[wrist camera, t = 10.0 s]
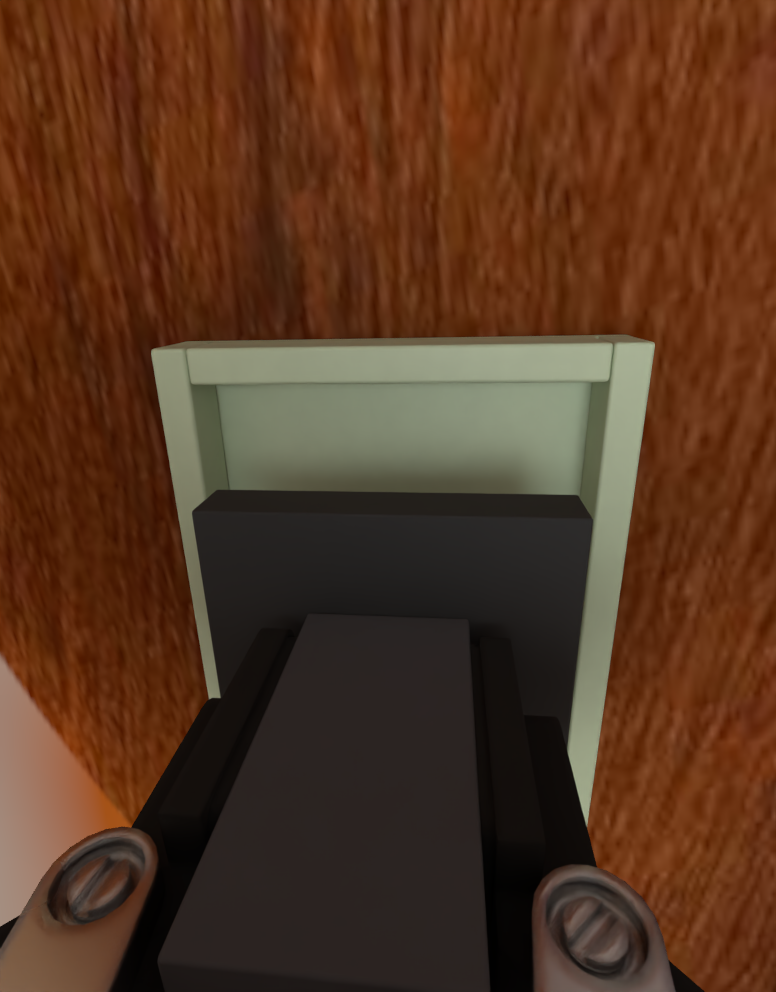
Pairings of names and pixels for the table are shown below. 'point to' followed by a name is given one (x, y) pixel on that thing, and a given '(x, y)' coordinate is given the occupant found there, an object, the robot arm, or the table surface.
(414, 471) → the frame tray
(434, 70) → the table surface
